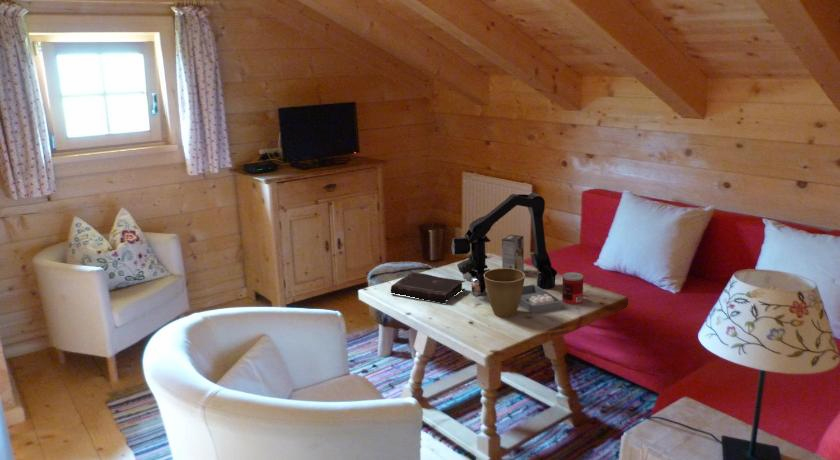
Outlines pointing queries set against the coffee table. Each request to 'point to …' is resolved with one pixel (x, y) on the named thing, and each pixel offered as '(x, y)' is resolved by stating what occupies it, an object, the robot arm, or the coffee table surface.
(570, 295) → the canned food
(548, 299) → the egg carton
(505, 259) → the coffee box
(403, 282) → the diary
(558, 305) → the tote
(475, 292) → the steel tin
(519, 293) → the plant pot
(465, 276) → the cupcake
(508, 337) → the coffee table surface
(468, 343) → the coffee table surface
